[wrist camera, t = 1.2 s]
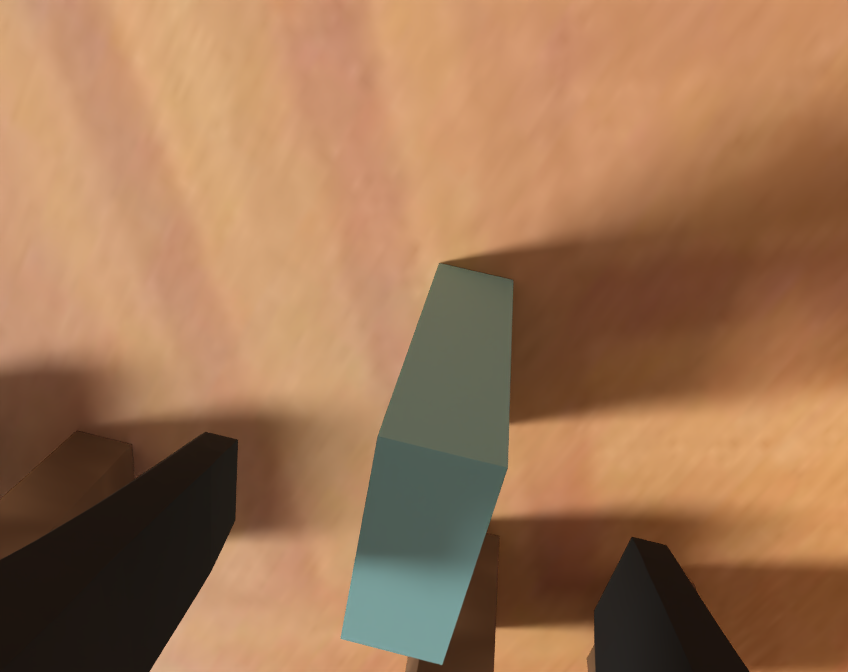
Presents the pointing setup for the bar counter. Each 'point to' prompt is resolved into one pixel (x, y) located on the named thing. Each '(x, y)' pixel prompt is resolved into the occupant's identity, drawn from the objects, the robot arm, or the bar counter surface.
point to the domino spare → (435, 469)
